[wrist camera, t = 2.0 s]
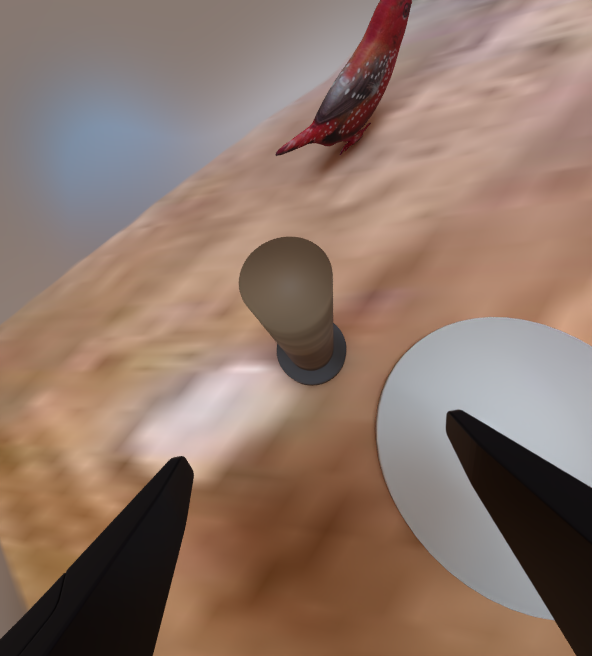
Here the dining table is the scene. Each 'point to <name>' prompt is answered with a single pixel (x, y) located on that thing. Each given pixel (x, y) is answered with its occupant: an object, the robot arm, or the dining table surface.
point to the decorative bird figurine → (359, 81)
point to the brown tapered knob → (295, 306)
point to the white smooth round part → (495, 411)
